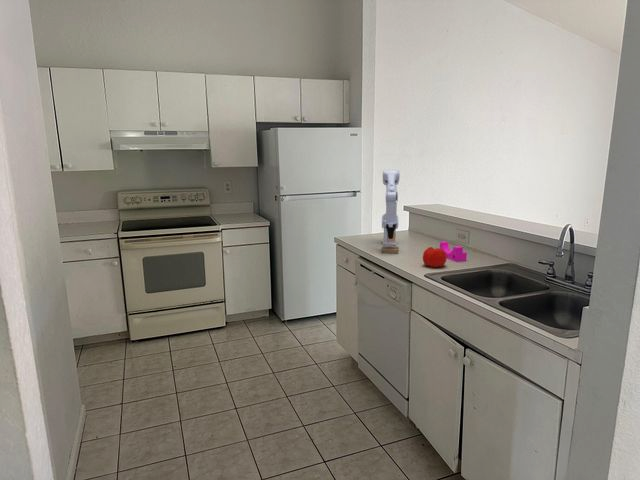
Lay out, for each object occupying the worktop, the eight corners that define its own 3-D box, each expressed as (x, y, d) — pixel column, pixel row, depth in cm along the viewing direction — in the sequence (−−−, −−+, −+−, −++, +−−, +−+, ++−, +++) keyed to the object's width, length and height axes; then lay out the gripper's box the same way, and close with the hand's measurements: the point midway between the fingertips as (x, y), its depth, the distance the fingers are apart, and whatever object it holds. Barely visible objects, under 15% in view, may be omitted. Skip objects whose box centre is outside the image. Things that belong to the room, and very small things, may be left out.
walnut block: (382, 251, 256) (382, 245, 255) (398, 251, 254) (398, 246, 254) (381, 254, 247) (381, 249, 247) (398, 255, 246) (398, 250, 245)
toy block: (466, 261, 232) (467, 246, 230) (455, 262, 230) (456, 247, 228) (449, 254, 246) (449, 241, 244) (439, 255, 244) (440, 242, 242)
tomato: (450, 267, 219) (451, 249, 217) (429, 270, 215) (430, 251, 213) (437, 262, 229) (438, 245, 227) (417, 264, 225) (418, 247, 223)
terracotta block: (386, 239, 252) (387, 231, 251) (394, 240, 251) (395, 231, 250) (386, 241, 248) (387, 232, 246) (395, 241, 247) (395, 233, 246)
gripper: (384, 211, 254) (383, 235, 257) (383, 215, 240) (382, 240, 243) (397, 211, 253) (396, 235, 256) (396, 215, 239) (396, 240, 242)
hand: (390, 237), depth 249 cm, fingers closed on terracotta block, 4 cm apart
